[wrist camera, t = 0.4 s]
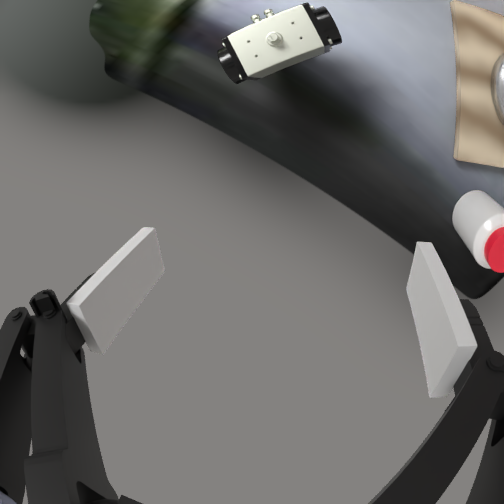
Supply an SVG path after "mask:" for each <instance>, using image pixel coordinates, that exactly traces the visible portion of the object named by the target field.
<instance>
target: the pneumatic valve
mask: <svg viewBox="0 0 504 504" xmlns="http://www.w3.org/2000/svg"><path fill="white" fill-rule="evenodd" d="M272 12H273V11H272V9H267V10H265V11H264V14H265V15H266V18H265V19H263V20H261V19H260V18H259V17H260V16H259V15H258V14H256V15H253V16H252V17H251V20H254V21H253V24H251V25H249V26H247V27H245V28H243V29H240V30H238V31H236V32H234V33H232V34H230V35H228V36H226V37H225V38H223V39H222V41H223V45H224V47H223V48H221V49H219V50H218V58H219V61H220V63H221V65H222V67H223V69H224V71H225V72H226V74H227V75H228V76H229V78H230V79H231V80H232V81H233V82H234V83H236V84H239V83H241V82H243V81H245V80H258V79H260V78H262V77H265V76H267V75H269V74H272V73H274V72H277V71H279V70H281V69H284V68H286V67H289V66H292V65H294V64H297V63H299V62H302V61H305V60H307V59H310V58H313V57H316V56H319V55H321V54H324V53H327V52H330V49H332V47H331V46H334V45H337V44H340V43H342V38H341V35H340V33H339V30H338V28H337V26H336V24H335V22H334V20H333V18H332V16H331V15H330V13H329V12H328V10H327V9H326V8H325V7H324V6H322V7H319V8H316V9H315V8H314V7H313V5H312V6H310V5H309V3H304V4H301V5H298V6H295V7H293V8H290V9H287V10H285V11H282V12H280V13H277V14H274V13H272Z"/></svg>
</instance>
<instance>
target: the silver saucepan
mask: <svg viewBox="0 0 504 504" xmlns="http://www.w3.org/2000/svg"><path fill="white" fill-rule="evenodd" d="M490 87H491V96H492V101H493V105H494V108H495V111H496V113H497V115H498V117H499V119H500V121H501V122H502V124H503V125H504V53H503V54H501V55H500V56H499V57H498V59H497V60H496V62H495V64H494V66H493V69H492V73H491V82H490Z"/></svg>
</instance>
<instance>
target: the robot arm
mask: <svg viewBox="0 0 504 504" xmlns="http://www.w3.org/2000/svg"><path fill="white" fill-rule="evenodd" d="M164 272H165V269H164V265H163V261H162V257H161V252H160V248H159V243H158V239H157V234H156V229H155V228H147V227H144V228H142V229H141V230H140V231H139V232H138V233H137V234H136V235H135V236H134V237H132V238H131V239H130V240H129V241H128V242H127V243H126V244H125V245H124V246H123V247H122V248H121V249H120V250H119V251H117V252H116V253H115V254H114V255H113V256H112V257H111V258H110V259H109V260H108V261H107V262H106V263H105V264H104V265H103V266H102V267H101V268H100V269H99V270H98V271H97V272H95V273H93V274H92V275H90V276H88V277H87V278H86V279H85V280H84V281H83V282H82V284H81V285H79V286H78V287H77V290H76V289H75V290H74V291H73V292H72V293H71V295H70V296H69V297H68V298H67V299H66V300H65V301H64V302H63V303H62V304H61V305H60V304H59V302H58V299H57V297H56V295H55V293H54V291H52V290H48V289H47V290H43V291H41V292H39V293H37V294H36V295H34V296H33V297H32V298H31V300H30V302H29V303H30V305H31V307H32V309H33V311H34V313H35V316H30V314H29V313H28V310H27V309H26V308H25V307H19V308H16V309H14V310H12V311H11V312H10V313H9V314H8V316H7V317H6V319H5V321H4V323H3V325H2V328H1V329H0V504H22V502H23V497H24V493H25V485H26V490H27V497H28V504H142V503H139V502H137V501H135V500H132V499H130V498H128V497H126V496H123V495H121V497H120V499H118V496H117V494H116V492H115V491H114V489H113V488H112V486H111V485H110V483H109V481H108V479H107V476H106V472H105V468H104V465H103V461H102V456H101V452H100V448H99V443H98V439H97V435H96V429H95V424H94V419H93V413H92V408H91V402H90V395H89V389H88V381H87V373H86V364H85V355H84V351H83V348H82V345H83V344H84V343H85V342H86V344H87V346H88V347H89V349H90V351H93V352H95V353H99V354H102V355H103V354H104V353H105V351H106V350H107V348H108V347H109V346H110V344H111V343H112V342H113V340H114V339H115V338H116V336H117V335H118V333H119V332H120V330H121V329H122V328H123V326H124V325H125V324H126V322H127V321H128V320H129V318H130V317H131V316H132V314H133V313H134V311H135V310H136V309H137V307H138V306H139V305H140V304H141V302H142V301H143V300H144V298H145V297H146V295H147V294H148V293H149V292H150V290H151V289H152V288H153V286H154V285H155V284H156V282H157V281H158V280H159V278H160V277H161V276H162V275H163V273H164ZM406 291H407V294H408V298H409V302H410V305H411V309H412V313H413V317H414V321H415V326H416V330H417V334H418V338H419V343H420V348H421V353H422V358H423V362H424V367H425V373H426V379H427V385H428V391H429V397H431V398H432V397H447V396H448V395H449V393H450V392H451V390H452V389H453V387H454V392H455V397H454V399H453V400H452V402H451V403H450V404H449V406H448V407H447V409H446V410H445V412H444V414H443V415H442V417H441V418H440V420H439V421H438V422H437V424H436V425H435V427H434V428H433V430H432V431H431V432H430V434H429V435H428V436H427V438H426V439H425V440H424V441H423V443H422V444H421V445H420V447H419V448H418V449H417V450H416V452H415V453H414V454H413V455H412V456H411V458H410V459H409V460H408V461H407V463H406V464H405V465H404V466H403V467H402V468H401V469H400V471H399V472H398V473H397V474H396V475H395V476H394V477H393V478H392V480H391V481H390V482H389V483H388V484H387V485H386V486H385V487H384V488H383V489H382V490H381V491H380V492H379V493H378V494H377V495H376V496H375V497H374V498H373V499H372V500H371V501H370V502H369V503H368V504H435V503H436V502H437V501H438V500H439V498H440V497H441V495H442V494H443V493H444V492H445V490H446V489H447V487H448V486H449V484H450V483H451V482H452V480H453V479H454V477H455V476H456V474H457V473H458V471H459V470H460V468H461V467H462V465H463V463H464V462H465V460H466V458H467V457H468V455H469V454H470V452H471V450H472V448H473V447H474V445H475V443H476V442H477V440H478V438H479V436H480V434H481V432H482V431H483V429H484V427H485V425H486V423H487V421H488V419H489V418H490V419H492V422H491V426H490V430H489V434H488V438H487V442H486V446H485V450H484V453H483V456H482V460H481V463H480V466H479V469H478V472H477V475H476V479H475V481H474V484H473V487H472V489H471V492H470V495H469V497H468V500H467V502H466V504H504V356H503V355H502V354H501V353H499V352H497V351H494V349H493V347H492V344H491V342H490V339H489V337H488V334H487V332H486V329H485V327H484V326H483V322H482V320H481V319H480V316H479V313H478V311H477V309H476V308H475V306H474V305H473V304H472V303H471V302H470V301H469V300H464V299H463V300H462V299H459V298H458V296H457V294H456V292H455V289H454V287H453V285H452V283H451V281H450V278H449V276H448V274H447V272H446V270H445V268H444V266H443V264H442V262H441V260H440V258H439V256H438V254H437V252H436V250H435V248H434V247H433V245H432V243H430V242H417V244H416V249H415V254H414V258H413V263H412V268H411V272H410V276H409V280H408V284H407V288H406ZM21 348H22V349H23V351H24V352H25V355H24V357H22V356H21V354H20V350H21ZM31 438H32V447H33V454H32V455H31V456H29V451H30V444H31Z"/></svg>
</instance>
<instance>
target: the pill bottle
mask: <svg viewBox="0 0 504 504" xmlns="http://www.w3.org/2000/svg"><path fill="white" fill-rule="evenodd" d="M452 221H453V226H454V229H455V230H456V232H457V233H458V235H459V236H460V238H461V239H462V241H463V242H464V243H465V245H466V246H467V248H468V249H469V251H470V252H471V254H472V255H473V257H474V258H475V260H476V261H477V262H478V264H479V265H481V266H482V267H484V268H487V269H492V270H494V271H495V272H498V273H502V272H504V208H503V207H502V206H501V205H499V204H498V203H497V202H496V201H495V200H494V199H493V198H492V197H490V196H489V195H488V194H487V193H485V192H483V191H480V190H473V191H470V192H468V193H466V194H464V195H463V196H462V197H461V198H460V199H459V200H458V202H457V203H456V205H455V208H454V210H453V216H452Z"/></svg>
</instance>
